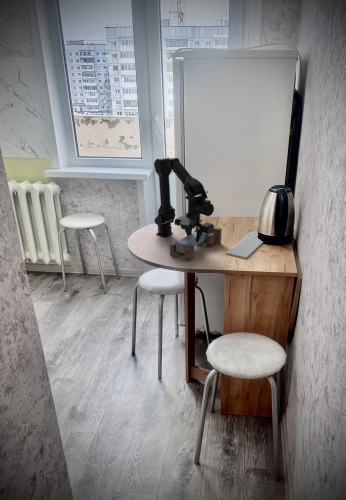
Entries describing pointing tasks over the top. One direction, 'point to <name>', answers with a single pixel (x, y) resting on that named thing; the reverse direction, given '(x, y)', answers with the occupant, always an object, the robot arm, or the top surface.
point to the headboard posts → (209, 242)
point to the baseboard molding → (245, 246)
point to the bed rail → (189, 241)
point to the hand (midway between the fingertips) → (193, 241)
